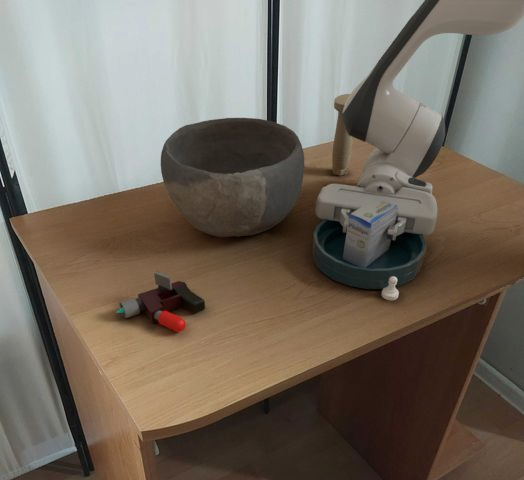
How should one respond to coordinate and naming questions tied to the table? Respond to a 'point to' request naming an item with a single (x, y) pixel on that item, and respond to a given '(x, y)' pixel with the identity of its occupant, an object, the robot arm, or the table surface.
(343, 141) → the handle
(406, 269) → the teal bowl
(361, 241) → the medicine box
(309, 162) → the table surface
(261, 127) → the bowl
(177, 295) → the toy gun
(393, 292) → the chess pawn
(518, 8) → the robot arm
